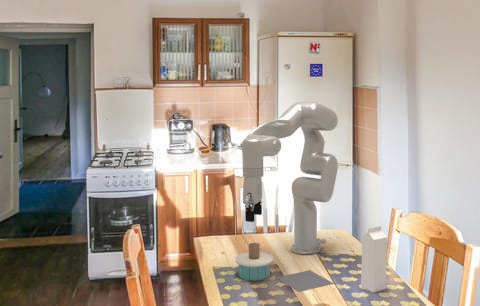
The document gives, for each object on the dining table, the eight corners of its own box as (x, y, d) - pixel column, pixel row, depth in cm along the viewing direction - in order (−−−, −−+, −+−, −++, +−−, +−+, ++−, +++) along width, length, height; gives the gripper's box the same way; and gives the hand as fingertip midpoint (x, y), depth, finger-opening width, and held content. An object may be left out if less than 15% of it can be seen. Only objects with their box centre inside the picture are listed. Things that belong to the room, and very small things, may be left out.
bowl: (260, 268, 200) (260, 253, 199) (275, 277, 189) (275, 262, 189) (233, 273, 194) (233, 258, 194) (247, 283, 184) (247, 267, 183)
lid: (261, 251, 200) (261, 236, 200) (280, 262, 188) (280, 246, 187) (229, 257, 194) (228, 242, 193) (246, 269, 182) (246, 253, 181)
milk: (386, 290, 177) (388, 228, 174) (372, 294, 174) (374, 230, 171) (373, 284, 182) (375, 223, 179) (360, 287, 179) (361, 226, 176)
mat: (310, 271, 195) (310, 270, 195) (334, 284, 182) (334, 283, 182) (276, 278, 189) (276, 277, 189) (298, 293, 175) (298, 291, 175)
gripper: (250, 167, 196) (250, 211, 198) (235, 176, 180) (236, 223, 182) (269, 168, 194) (269, 212, 196) (256, 176, 177) (257, 225, 180)
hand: (253, 217), depth 189 cm, fingers open, 9 cm apart
